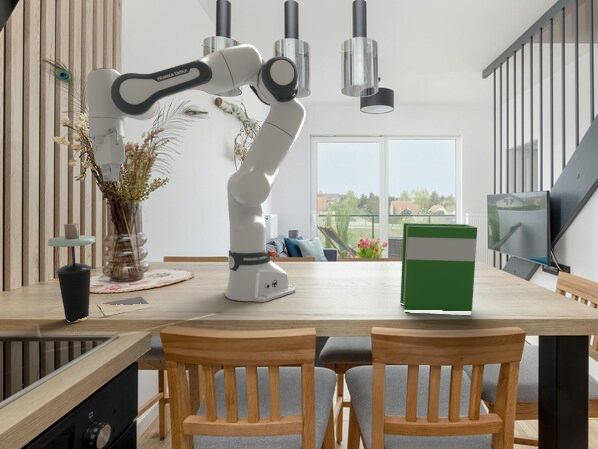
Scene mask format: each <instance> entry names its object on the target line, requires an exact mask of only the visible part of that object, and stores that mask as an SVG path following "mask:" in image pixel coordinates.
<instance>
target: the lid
mask: <svg viewBox="0 0 598 449" xmlns="http://www.w3.org/2000/svg"><path fill="white" fill-rule="evenodd" d="M63 227H64V228H63V229H64V230H63V231H64V236H58V237H57V236H56V237H52V238H48V239H47V245H48V246H49V247H55V248H56V247H57V248H69V247H70V248H71V246H75V247H80V246H87V245H92V244H94V243H96V236H94V235H83V234H82V235H80V228H79V223H65V224H63Z"/></svg>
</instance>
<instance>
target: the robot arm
mask: <svg viewBox="0 0 598 449" xmlns="http://www.w3.org/2000/svg"><path fill="white" fill-rule="evenodd" d="M86 76H87V77H86V82H85V83H86V84H85V85H86V86H85V87H86V90H85V93H86V94H85V95H86V103H87V106H88V116H87V120H88V122H87V123H88V139H89V140H91V145H92V146H91V147H92V153H93V158H94V163H95V165H96V166H98V167H99V166H100V170H101V174H102V180H103V182H119V181H120V171H121V165H122V164H125V163H126V150H125V149H126V148H125V142H124V141H125V140H124V139H125V138H126V128H125V118H130V119H134V120H136V121H137V120H138V121H147V120H150V119H152V118H154V117H155V116H156V115H157V114H158V111H159V107H160V102H159V101H160V100H162V99H165V98H167V97H170V96H174V95H177V94H180V93H181V94H182V93H184V92H186V91H193V90H196V91H201V92H203V93H207V94H209V95H216V94H222V93H226V92H229V91H232V90H234V89H237V88H240V87H242V86H245V85H249V88H250V89H251V91H252V92H253V94H255V96H256V97H257V99H258V100H259V101H260V102H261V103H263V104H264V105H266V106H269V112H268V114H267V116H266V118H265V119H264V121H263V123H262V125H261V126H260V128H259V129H258V131H257V134H256V135H255V136H254V138H253V141H252V142H251V144H250V146H249V148H248V150H247V152H246V154H245V156H244V159H243V160H242V163H241V164H240V167H239V168H238V170H236V172H234V173H233V174H232V175H230V177H229V178H228V181H227V186H226V187H227V188H226V190H227V206H228V207H227V208H228V209H227V210H228V220H229V250H228V268H229V273H228V275H229V276H228V283H227V287H226V290H225V298H227V299H229V300H233V301H239V302H240V301H241V302H256V303H257V302H258V303H264V302H265V303H266V302H269V301H271V300H272V301H273V300H274V299H279V298H280V297H285V296H287V295H290V294H293V293H296V287H295V286H293V285H292V284H290V283H289V276H288V273H287V272H286V271H285V269H283V268H282V267H280V266H279V265H278V264H276V263H274V262H273V261H272V260H271V259H272V258H273V259H274V258H277V256H278V253H277V251H275V250H268V248H267V223H266V220H265V219H266V218H265V212H264V202H266V201H267V199H268V198H269V195H270V193H271V190H272V189H273V186H274V184H275V182H276V180H277V177H278V174H279V173H280V169H281V167H282V165H283V163H284V161H285V160H286V158H287V156H288V154H289V152H290V151H291V149H292V147H293V145H294V143H295V142H296V140H297V138H298V136H299V134H300V132H301V130H302V127H303V125H304V122H305V118H306V109H305V107H304V106H303V104H302V103H301V102H300V101H298V100H297V99H296V97H297V96H299V95H298V94H299V70H298V68H297V64H295V62H294V61H293V60H292V59H291V58H289V57H287V56H284V55H276V56H274V57H271V58H270V59H268V60H267V61H265V60H264V59H263V58H262V56H261V54H260V52H259V50H258V49H257V48H256V47H255V46H254V45H252V44H249V43H247V44H239V45H238V44H237V45H234V46H233V45H232V46H229V47H224V48H222V49H219V50H215V51H213V52H211V53H208V54H205V55H204V56H201V57H199V58H197V59H194V60H192V61H189V62H187V63H183V64H179V65H176V66H173V67H169V68H165V69H162V70H159V71H155V72H151V73H138V72H137V73H136V72H135V73H134V72H129V73H128V72H126V73H123V74H122V73H120V72H118V70H116V69H114V68H110V67H109V68H107V67H100V68H99V67H98V68H96V69H93V70H91V71H90V72H89V73H88V74H87V75H86ZM271 257H272V258H271Z"/></svg>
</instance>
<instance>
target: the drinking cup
mask: <svg viewBox="0 0 598 449" xmlns="http://www.w3.org/2000/svg"><path fill="white" fill-rule="evenodd" d="M75 247H76V246H71V247H70V248H71V262H72V263H68V264H65V265H63V266H61V267H59V268H57V269H56V271H55V273H56V274H57V278H58V283H59V289H60V293H61V301H62V307H63V311H64V317H65V320H66V319H67V320H68V321H70V322H74V321H77V320H78V319H82V318H85V317H87V316H89V314H90V292H91V291H90V290H91V274H92V272H91V271H92V269H93V267H92V266H91V265H89V264H88V265H87V264H85V263H80V262H76V248H75Z"/></svg>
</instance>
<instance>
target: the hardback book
mask: <svg viewBox="0 0 598 449" xmlns="http://www.w3.org/2000/svg"><path fill="white" fill-rule="evenodd" d="M402 229H403V230H402V233H403V234H402V252H401V278H400V281H401V282H400V303H403V304H404V305H403V310H404V309H405V310H406V309H407V310H443V311H472V312H473V303H474V302H473V301H474V289H475V287H474V284H475V272H476V271H475V270H476V256H477V255H476V254H477V241H478V240H477V237H478V226H477V227H476V226H474V225H472V224H471V225H470V224H468V223H467V224H465V223H464V224H463V223H460V224H459V223H421V222H420V223H419V222H418V223H417V222H412V223H411V222H403V228H402ZM400 303H399V304H400Z"/></svg>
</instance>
